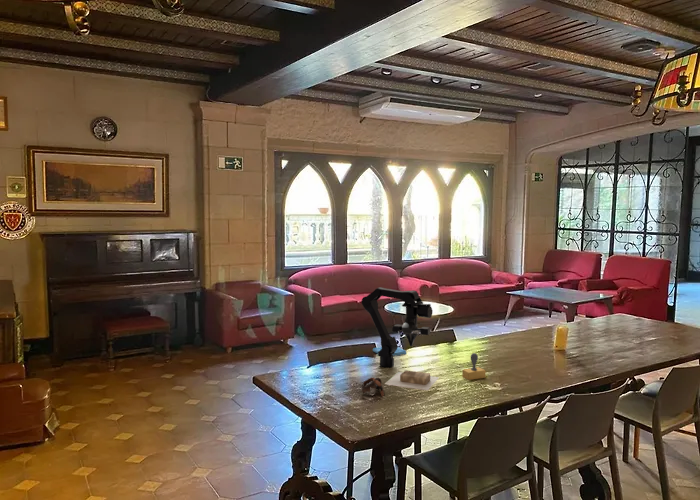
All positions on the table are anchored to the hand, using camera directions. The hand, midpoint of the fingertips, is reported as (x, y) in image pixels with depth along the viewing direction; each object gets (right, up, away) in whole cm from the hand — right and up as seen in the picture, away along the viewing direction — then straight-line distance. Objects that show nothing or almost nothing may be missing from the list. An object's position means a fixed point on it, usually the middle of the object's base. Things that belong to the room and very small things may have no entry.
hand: (411, 346), depth 266 cm
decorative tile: (-8, -11, +36) cm, 38 cm away
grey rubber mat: (-1, -14, -15) cm, 21 cm away
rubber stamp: (+30, -14, -8) cm, 34 cm away
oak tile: (-6, -12, -13) cm, 18 cm away
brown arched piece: (-20, -16, -31) cm, 40 cm away
